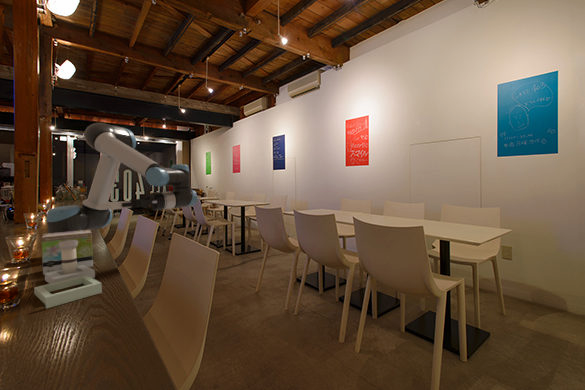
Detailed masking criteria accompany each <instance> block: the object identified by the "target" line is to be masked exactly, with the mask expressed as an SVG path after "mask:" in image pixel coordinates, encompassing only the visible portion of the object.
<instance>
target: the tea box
mask: <svg viewBox="0 0 585 390" xmlns="http://www.w3.org/2000/svg"><path fill="white" fill-rule="evenodd" d="M66 240H77V241H78V246H77V247H76V255H77V266H81V265H85V266H87V267H89V268H92V267H94V253H93V252H94V251H93V232H92V230H82V231H70V232H59V233H48V232H47V233H43V234H42V236H41V259H42V263H41V265H42V275H44V276H45V273H48V272H52V271H57V270H62V261H61V260H62V258H61V249H59V242H61V241H66Z"/></svg>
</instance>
